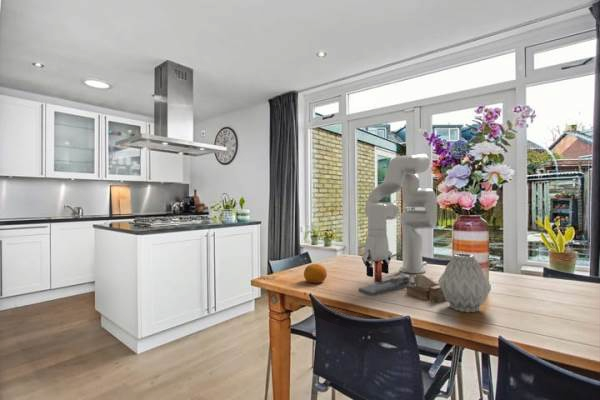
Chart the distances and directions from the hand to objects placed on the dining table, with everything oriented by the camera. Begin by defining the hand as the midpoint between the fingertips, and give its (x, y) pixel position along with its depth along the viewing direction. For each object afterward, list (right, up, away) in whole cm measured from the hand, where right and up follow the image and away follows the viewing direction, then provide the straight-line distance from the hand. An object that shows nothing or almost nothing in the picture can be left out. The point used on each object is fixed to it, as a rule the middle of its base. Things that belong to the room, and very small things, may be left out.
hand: (377, 274), depth 131 cm
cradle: (+19, -6, -7) cm, 21 cm away
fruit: (-25, -7, +15) cm, 30 cm away
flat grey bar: (+5, -6, +3) cm, 9 cm away
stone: (+18, -6, -5) cm, 20 cm away
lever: (+8, -4, +4) cm, 10 cm away
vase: (+24, -7, -22) cm, 34 cm away
